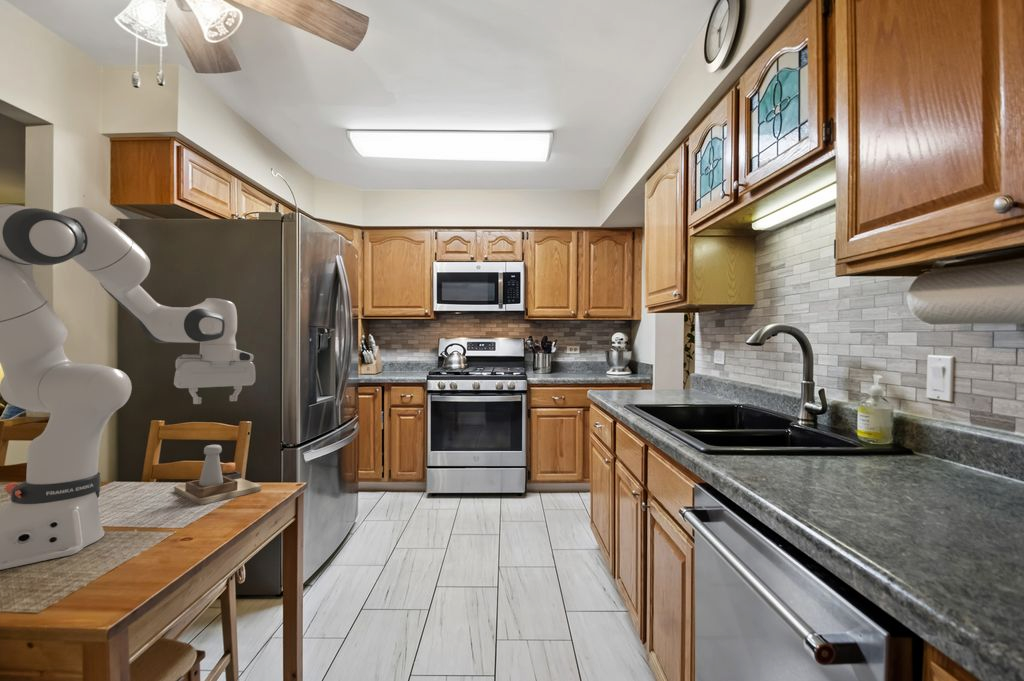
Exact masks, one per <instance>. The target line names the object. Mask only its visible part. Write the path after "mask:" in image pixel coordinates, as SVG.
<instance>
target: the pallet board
mask: <svg viewBox="0 0 1024 681" xmlns="http://www.w3.org/2000/svg"><path fill="white" fill-rule="evenodd" d="M222 477H223V484H219V485H214V486H209V487H205V488H201V487H200V486H199V481H200V479H197V480H192V481H191V480H190V481H186V482H185V484H179V485H174V486H173V488H174V489H173V490H174V492H175V493H176V494H179V495H180V496H182V497H184V498H187V499H188V500H190V501H192V502H194V503H195V504H198V505H200V506H203V505H206V504H211V503H216V502H220V501H224V500H228V499H231V498H237V497H240V496H244V495H249V494H254V493H257V492H256V491H258V492H261V491H262V485H260V484H258V483H256V482H252V481H250V480H247V479H245V478H242V472H239V471H237V470H235V472H233V473H223V472H222ZM260 490H261V491H260ZM253 492H254V493H253Z"/></svg>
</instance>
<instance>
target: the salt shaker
mask: <svg viewBox="0 0 1024 681" xmlns="http://www.w3.org/2000/svg"><path fill="white" fill-rule="evenodd" d="M222 451H223V448H222V446H221V445H220V444H210V445H205V447H204V448H203V455H205V459H204V463H203V466H202V470H201V473H200V477H199V480H200V481H199V486H200V487H201V488H205V487H209V486H214V485H219V484H223V477H222V473H223V470H222V467H221V461H220V460H221V459H220V454H221V453H222Z"/></svg>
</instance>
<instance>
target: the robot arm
mask: <svg viewBox="0 0 1024 681" xmlns="http://www.w3.org/2000/svg"><path fill="white" fill-rule="evenodd" d="M71 259H72V260H73V261H74V262H75V263H76V264H78V265H79V266H80V267H82V268H83V269H84V270H85V271H86V272H88V273H89V274H90V275H91V276H93V278H95V279H96V280H97V281H98V282H99V284H100V286H101V287H102V288H103V290H104V291H106V293H107V294H108V295H109V296H110V297H111V298H112V299H113V300H114V301H115V302H117V303H118V304H119V305H120V306H121V308H123V309H124V310H125V311H126V312H127V313H128V314H130V315H131V316H132V317H133V318H134V319H135V320H136V322H137V323H138V324H139V327H140V328H141V330H142V331H143V333H144V334H145V336H146V337H147V338H148V339H150V340H151V341H153V342H154V343H158V344H170V343H171V344H172V343H183V344H184V343H190V344H198V343H199V354H186V353H185V354H181V355H179V356H178V357H177V358H176V359H175V360H174V361H175V363H174V366H175V369H176V370H175V373H174V378H173V385H174V386H175V387H176V388H177V389H188V392H189V394H190V395H191V397H192V404H193V405H201V404H202V401H203V400H202V397H200V396H198V394H197V393H196V392H198V391H199V388H216V387H217V388H218V387H219V388H220V387H233V390H234V391H233V393H232V394H230V395H229V399H228V400H229V402H238V398H239V395H240V393H241V392H242V390H243V386H253V385H254V383H256V366H255V364H254V362H253V360H254V357H255V356H254V354H252V353H249V352H246V351H243V350H240V349H237V340H236V334H237V332H238V313H237V312H238V311H237V308H236V305H235V303H234V302H232V301H231V300H228V299H225V298H218V297H207V298H205V300H204V301H202V302H200V303H198V304H196V305H192V306H190V307H189V306H188V307H184V306H183V307H179V306H177V307H176V306H175V307H172V306H167V305H163V304H161V303H159V302H157V301H156V300H155V299H154V298H153V297H152V296H151V295H150V294H149V292H147V291H146V290H145V289H144V288H143V287H142V286H141V285H140V284H141V283H142V282H144V280H146V278H147V277H148V275H149V273H150V270H151V260H150V258H149V256H148V255H147V253H146V252H145V251H144V250H143V248H141V247H140V246H139V244H138V243H136V242H135V241H134V240H133V239H132V238H131V237H129V235H128V234H126V233H125V232H124V231H123V230H122V229H120V228H119V227H118V226H116V225H115V224H114V223H113V222H112V221H109V220H108V219H107V218H105V217H104V216H102V214H99V213H98V212H96V211H94V210H92V209H91V208H88V207H83V206H82V207H81V206H76V207H70V208H66V209H63V210H61V211H59V212H54V211H52V210H49V209H45V208H39V207H38V208H36V207H35V208H33V207H29V206H23V205H19V204H5V203H4V204H2V203H1V204H0V366H1V369H2V371H3V377H2V379H1V381H0V396H1V397H2V399H3V400H4V401H5V402H6V403H8V404H9V405H11V406H14V407H16V408H17V407H18V408H20V409H23V410H26V411H29V412H34V413H35V412H36V413H48V414H49V413H50V414H49V415H50V416H49V419H48V422H47V424H46V426H45V428H44V431H42V433H41V434H39V435H38V436H37V437H35V438H33V440H31V442H30V443H29V445H28V448H27V456H26V457H27V459H26V460H27V461H26V479H25V481H22V482H21V483H17V482H10V483H7V484H6V485H4V492H6V493H7V494H10V501H11V502H9V503H7V504H6V505H4V506H3V507H2V508H0V571H1V570H6V569H10V568H14V567H19V566H24V565H29V564H34V563H38V562H42V561H47V560H48V561H49V560H51V559H52V560H53V559H57V558H58V559H59V558H61V557H62V558H63V557H67V556H71V555H75V554H77V553H79V552H80V551H81V550H83V549H84V548H85V547H87V546H89V545H91V544H93V543H94V544H95V542H97V541H99V540H101V539H102V538H103V537H104V535H105V531H104V528H103V524H102V521H101V516H100V511H99V510H100V509H99V497H100V493H101V488H102V487H101V483H102V482H101V481H102V479H101V473H100V472H99V459H100V458H99V457H100V447H101V440H102V436H103V433H104V430H105V428H106V426H107V424H108V423H109V421H110V419H111V417H113V415H114V414H115V412H117V411H118V410H119V409H121V408H122V407H124V406H125V405H126V403H127V402H128V401H129V399H130V397H131V394H132V389H133V387H132V381H131V379H130V377H129V376H128V375H127V373H125V371H122V370H121V369H118V368H115V367H111V366H108V365H104V364H100V363H84V362H83V363H82V362H81V363H80V362H73V361H72V360H70V359H69V357H68V356H67V355H66V353H65V350H64V346H63V345H64V343H65V342H66V341H67V339H68V335H69V332H68V329H67V327H66V325H65V324H64V323H63V321H62V320H61V319H60V317H59V315H58V314H57V313H56V311H55V310H54V308H53V307H52V305H51V304H50V302H49V301H48V300H47V298H46V296H45V295H44V294H43V292H42V291H41V290H40V289H39V287H38V286H37V285H36V284H37V283H36V281H35V277H34V272H33V271H34V265H37V266H53V265H57V264H61V263H64V262H65V263H66V262H67V261H69V260H71Z"/></svg>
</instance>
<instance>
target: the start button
mask: <svg viewBox="0 0 1024 681" xmlns="http://www.w3.org/2000/svg"><path fill="white" fill-rule="evenodd" d="M222 469H223V470H222V473H233V472H235V471H236V462H225V463H223V468H222Z"/></svg>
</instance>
